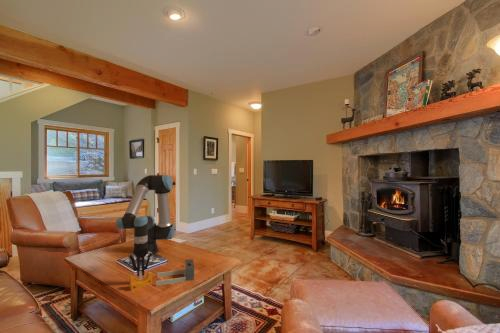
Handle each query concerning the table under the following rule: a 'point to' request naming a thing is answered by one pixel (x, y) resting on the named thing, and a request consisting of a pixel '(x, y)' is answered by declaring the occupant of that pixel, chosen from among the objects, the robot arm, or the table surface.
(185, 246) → the table surface
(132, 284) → the pipe clamp
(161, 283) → the frame
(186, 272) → the unit housing
